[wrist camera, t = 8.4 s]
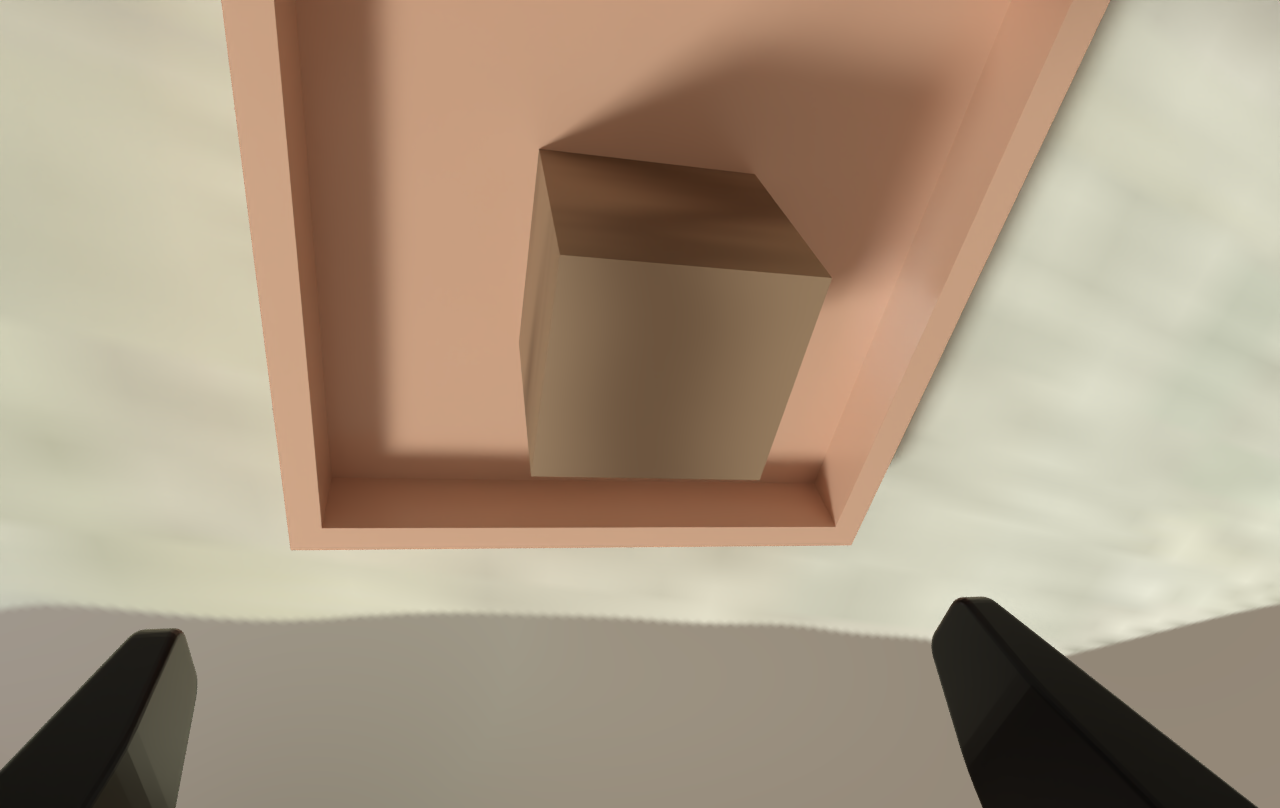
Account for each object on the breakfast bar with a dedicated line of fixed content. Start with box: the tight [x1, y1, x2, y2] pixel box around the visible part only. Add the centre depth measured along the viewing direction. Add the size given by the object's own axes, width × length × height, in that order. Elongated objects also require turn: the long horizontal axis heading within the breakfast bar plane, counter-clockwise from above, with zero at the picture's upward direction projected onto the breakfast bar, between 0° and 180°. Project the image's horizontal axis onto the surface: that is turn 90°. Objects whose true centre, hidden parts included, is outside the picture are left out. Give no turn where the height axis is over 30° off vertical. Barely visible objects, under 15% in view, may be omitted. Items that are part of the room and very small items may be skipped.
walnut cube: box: [519, 149, 832, 480], centre depth 17 cm, size 5×5×5 cm
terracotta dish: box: [221, 0, 1110, 550], centre depth 19 cm, size 16×16×2 cm
